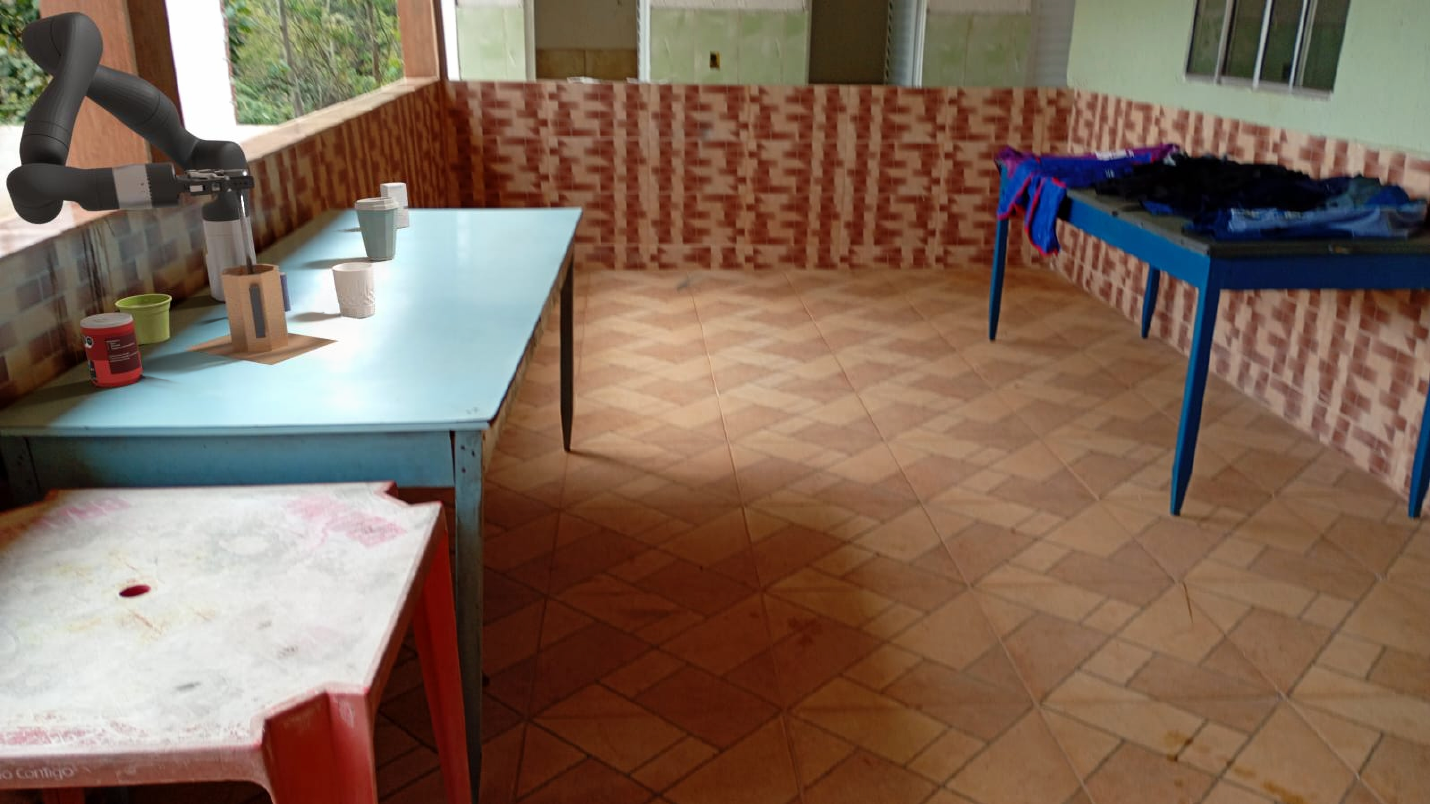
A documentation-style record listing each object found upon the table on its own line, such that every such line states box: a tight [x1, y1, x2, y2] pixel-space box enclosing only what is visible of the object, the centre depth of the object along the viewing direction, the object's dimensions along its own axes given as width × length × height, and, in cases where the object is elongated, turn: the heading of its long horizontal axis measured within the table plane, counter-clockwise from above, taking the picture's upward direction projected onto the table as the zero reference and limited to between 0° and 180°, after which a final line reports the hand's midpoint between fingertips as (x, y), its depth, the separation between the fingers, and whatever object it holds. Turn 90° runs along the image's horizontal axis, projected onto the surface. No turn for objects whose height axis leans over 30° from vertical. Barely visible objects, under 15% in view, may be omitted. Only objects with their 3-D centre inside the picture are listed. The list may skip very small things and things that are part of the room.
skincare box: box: [379, 181, 411, 229], centre depth 318 cm, size 6×4×12 cm
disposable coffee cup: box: [354, 196, 400, 262], centre depth 279 cm, size 11×11×15 cm
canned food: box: [79, 312, 144, 388], centre depth 191 cm, size 8×8×11 cm
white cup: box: [331, 261, 376, 319], centre depth 230 cm, size 8×8×10 cm
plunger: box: [223, 169, 254, 275], centre depth 201 cm, size 6×6×23 cm
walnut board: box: [183, 332, 338, 366], centre depth 208 cm, size 22×16×1 cm
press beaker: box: [221, 263, 289, 353], centre depth 205 cm, size 11×10×14 cm
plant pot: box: [114, 293, 173, 346], centre depth 211 cm, size 9×9×9 cm
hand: (251, 178), depth 199 cm, fingers open, 6 cm apart
